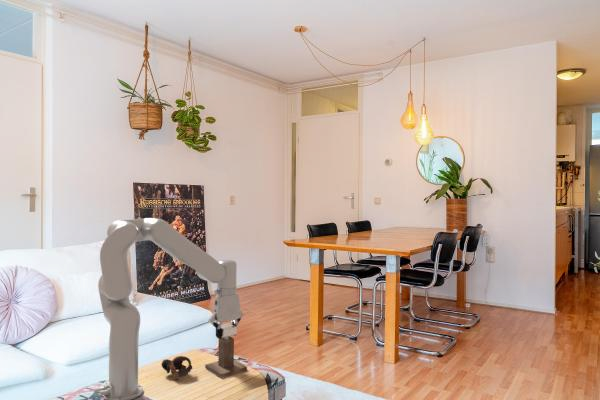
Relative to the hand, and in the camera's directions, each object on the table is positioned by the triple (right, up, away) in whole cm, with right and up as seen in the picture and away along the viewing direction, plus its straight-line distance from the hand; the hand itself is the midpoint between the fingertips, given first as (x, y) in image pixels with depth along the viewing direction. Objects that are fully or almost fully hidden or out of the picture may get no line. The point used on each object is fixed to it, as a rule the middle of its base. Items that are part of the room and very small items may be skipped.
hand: (226, 335), depth 175 cm
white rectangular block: (0, -11, 0) cm, 11 cm away
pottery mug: (-18, -14, -6) cm, 23 cm away
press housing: (0, -13, 0) cm, 13 cm away
